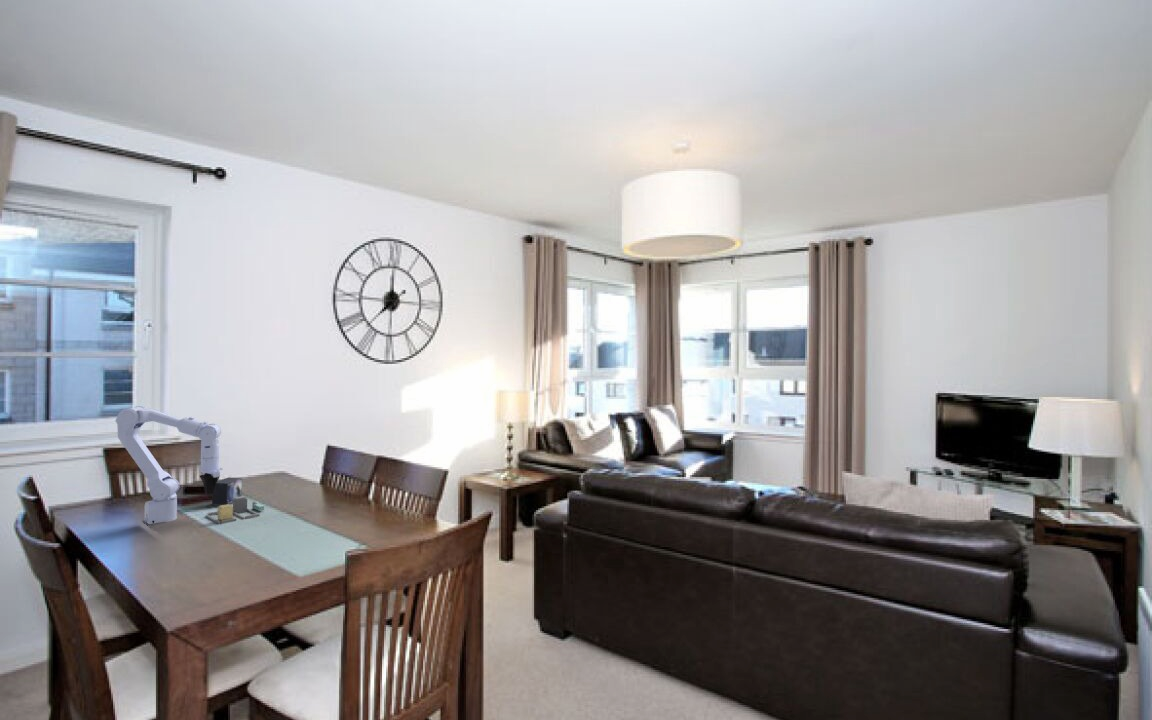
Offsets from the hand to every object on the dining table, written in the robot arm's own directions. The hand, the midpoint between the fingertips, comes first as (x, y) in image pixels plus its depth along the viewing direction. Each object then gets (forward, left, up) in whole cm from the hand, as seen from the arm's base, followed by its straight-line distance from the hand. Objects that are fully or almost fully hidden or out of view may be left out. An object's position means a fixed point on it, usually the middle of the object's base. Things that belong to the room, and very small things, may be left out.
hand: (209, 493), depth 217 cm
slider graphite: (+10, -1, -9) cm, 13 cm away
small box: (+12, +18, -10) cm, 24 cm away
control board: (+7, -5, -10) cm, 13 cm away
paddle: (+15, -3, -9) cm, 18 cm away
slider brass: (+2, -10, -9) cm, 13 cm away
